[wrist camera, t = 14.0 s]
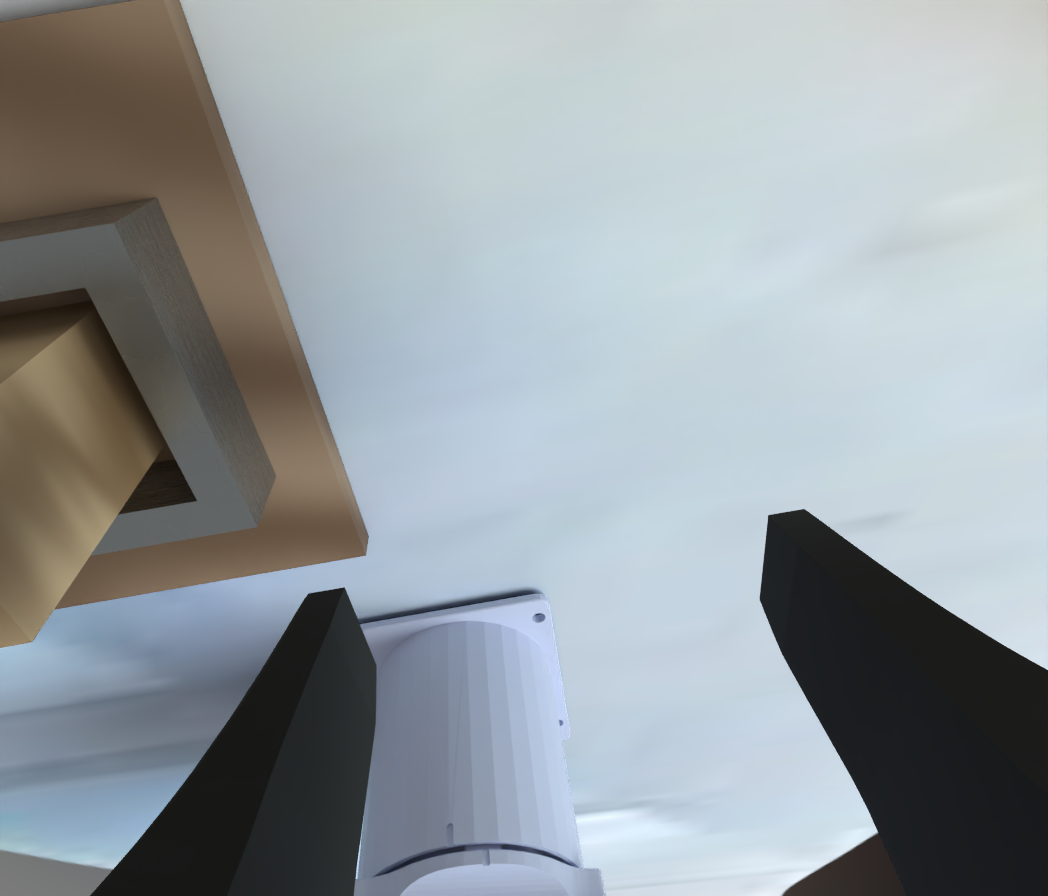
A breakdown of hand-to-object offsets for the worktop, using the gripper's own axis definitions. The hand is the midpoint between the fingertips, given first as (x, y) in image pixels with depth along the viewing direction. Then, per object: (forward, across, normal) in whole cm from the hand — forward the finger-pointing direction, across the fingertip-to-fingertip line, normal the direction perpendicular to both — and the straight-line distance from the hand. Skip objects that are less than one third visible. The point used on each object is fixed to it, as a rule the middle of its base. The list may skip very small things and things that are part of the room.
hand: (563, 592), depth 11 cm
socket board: (+10, +12, -2) cm, 16 cm away
